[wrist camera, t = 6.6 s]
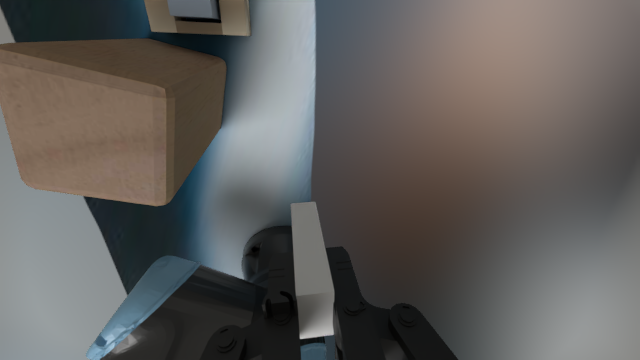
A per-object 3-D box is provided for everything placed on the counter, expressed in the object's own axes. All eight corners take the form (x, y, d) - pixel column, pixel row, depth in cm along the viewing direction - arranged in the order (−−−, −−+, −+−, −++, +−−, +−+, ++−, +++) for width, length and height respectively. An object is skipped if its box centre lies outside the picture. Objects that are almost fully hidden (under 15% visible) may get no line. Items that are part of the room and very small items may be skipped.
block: (142, 35, 32) (-30, 38, 14) (229, 58, 34) (169, 84, 17) (145, 116, 36) (15, 192, 19) (221, 131, 38) (168, 212, 21)
